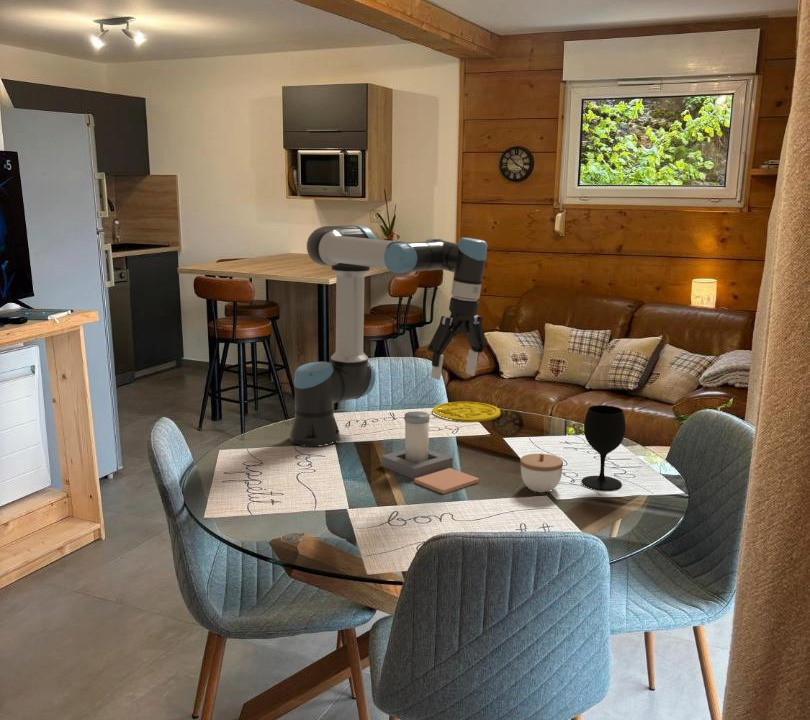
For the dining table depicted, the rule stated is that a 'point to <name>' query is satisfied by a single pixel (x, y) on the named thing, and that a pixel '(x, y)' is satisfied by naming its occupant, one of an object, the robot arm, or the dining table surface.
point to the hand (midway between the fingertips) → (453, 376)
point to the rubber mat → (446, 480)
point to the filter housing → (413, 470)
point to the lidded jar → (541, 471)
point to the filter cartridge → (416, 436)
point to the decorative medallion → (467, 411)
